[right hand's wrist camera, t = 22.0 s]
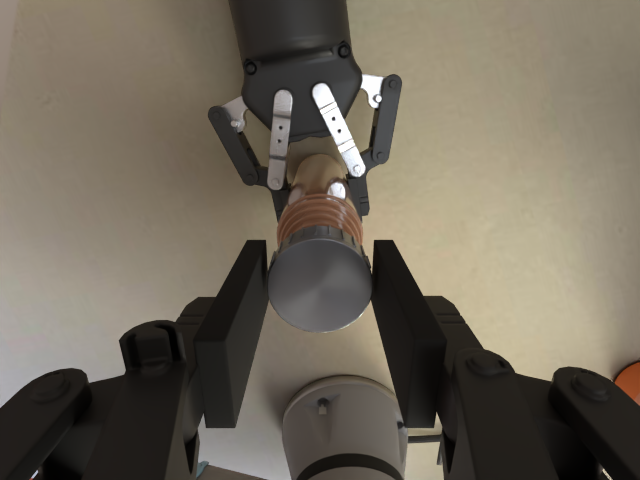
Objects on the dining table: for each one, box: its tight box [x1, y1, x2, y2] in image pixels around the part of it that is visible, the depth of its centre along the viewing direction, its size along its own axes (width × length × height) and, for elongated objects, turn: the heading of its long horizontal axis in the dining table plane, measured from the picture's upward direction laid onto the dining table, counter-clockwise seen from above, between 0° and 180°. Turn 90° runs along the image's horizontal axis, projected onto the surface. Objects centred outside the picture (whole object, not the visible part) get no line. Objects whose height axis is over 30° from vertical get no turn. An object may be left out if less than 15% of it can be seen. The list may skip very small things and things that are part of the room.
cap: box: [267, 225, 373, 333], centre depth 14 cm, size 4×4×2 cm
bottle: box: [277, 154, 363, 247], centre depth 24 cm, size 4×4×21 cm
